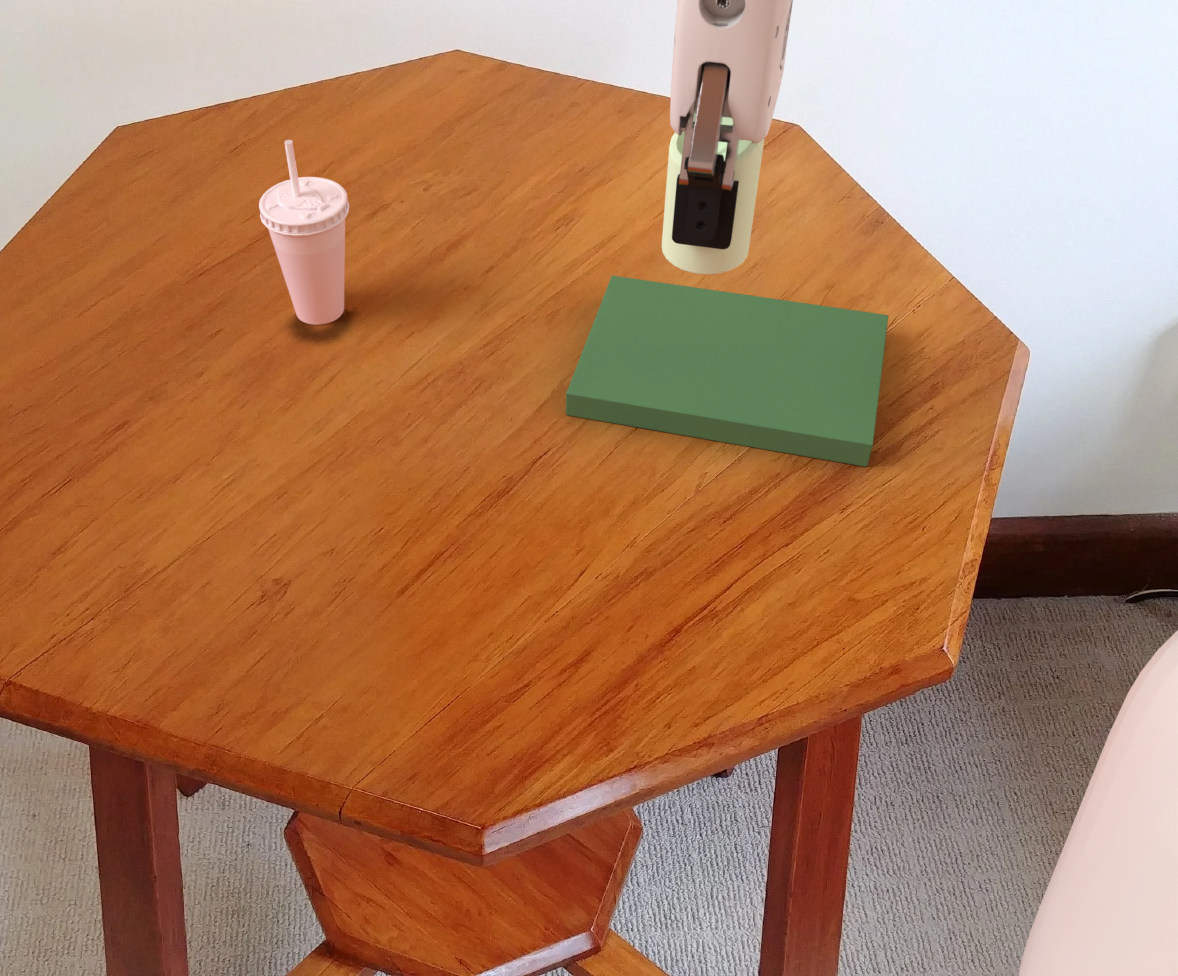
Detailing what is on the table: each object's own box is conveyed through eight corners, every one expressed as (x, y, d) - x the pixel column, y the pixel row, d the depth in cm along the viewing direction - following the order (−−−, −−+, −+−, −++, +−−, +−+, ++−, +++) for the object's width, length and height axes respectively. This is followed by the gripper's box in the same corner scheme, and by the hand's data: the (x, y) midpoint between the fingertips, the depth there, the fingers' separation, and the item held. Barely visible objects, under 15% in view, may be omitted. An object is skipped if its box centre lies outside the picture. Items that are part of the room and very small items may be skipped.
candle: (687, 285, 70) (700, 158, 64) (646, 238, 73) (654, 113, 67) (765, 261, 71) (784, 134, 65) (720, 216, 74) (735, 91, 68)
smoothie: (315, 275, 98) (290, 112, 88) (379, 302, 95) (360, 136, 85) (260, 317, 94) (228, 152, 84) (325, 346, 91) (298, 178, 81)
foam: (883, 336, 89) (888, 314, 88) (867, 467, 80) (873, 444, 78) (610, 296, 94) (611, 274, 93) (565, 415, 85) (565, 393, 83)
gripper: (811, -44, 51) (756, 315, 64) (844, -179, 62) (792, 150, 75) (629, -57, 52) (612, 295, 65) (694, -185, 64) (668, 137, 77)
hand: (708, 214), depth 70 cm, fingers closed on candle, 4 cm apart
